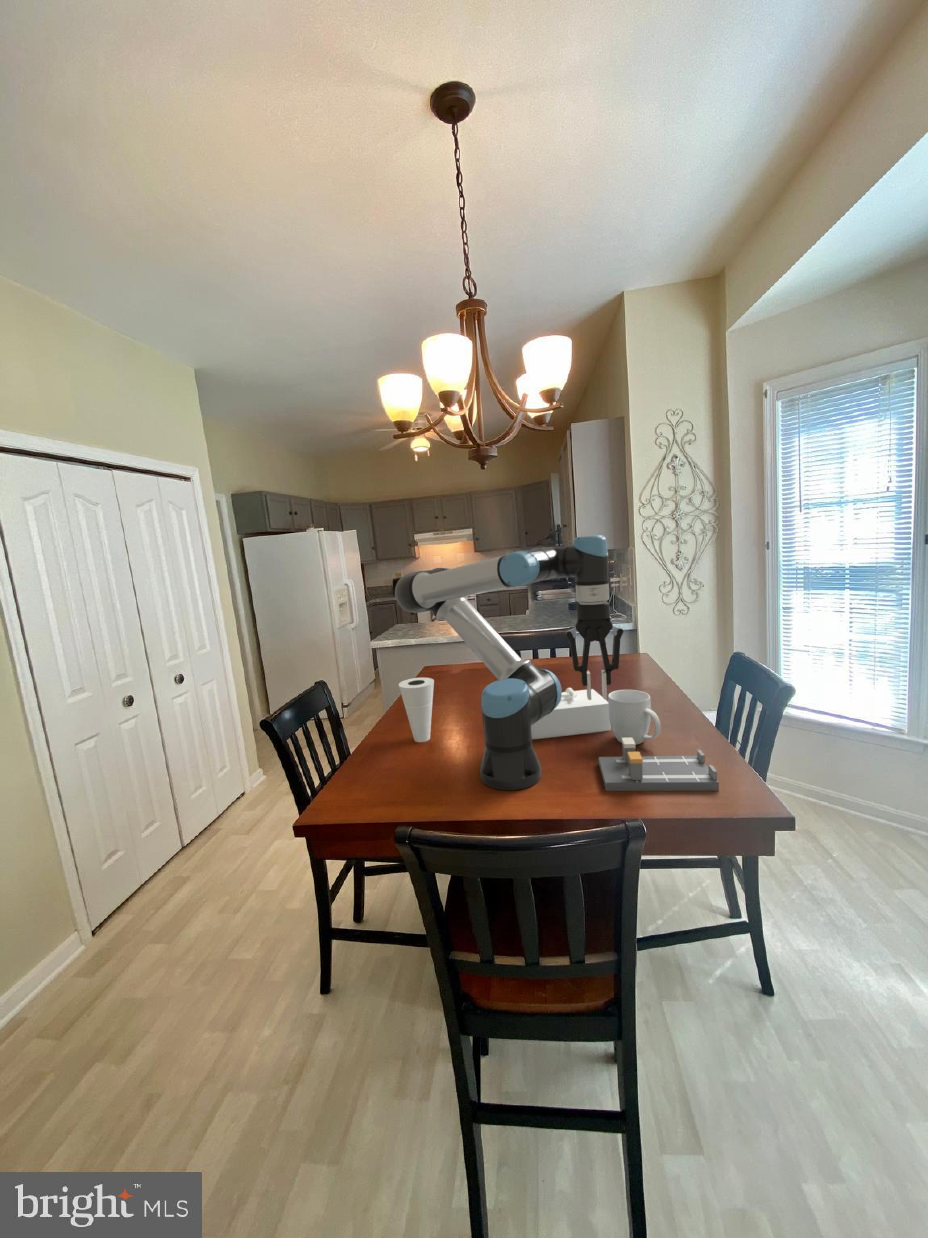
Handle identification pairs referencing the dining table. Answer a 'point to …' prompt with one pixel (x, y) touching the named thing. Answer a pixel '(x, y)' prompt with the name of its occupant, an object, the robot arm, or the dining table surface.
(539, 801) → the dining table surface
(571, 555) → the robot arm
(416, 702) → the white paper towel roll
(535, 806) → the dining table surface
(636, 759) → the fader orange
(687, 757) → the console
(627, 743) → the fader cream
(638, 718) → the mug
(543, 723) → the tissue box
